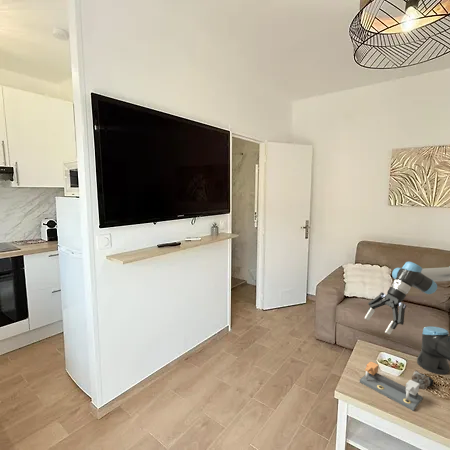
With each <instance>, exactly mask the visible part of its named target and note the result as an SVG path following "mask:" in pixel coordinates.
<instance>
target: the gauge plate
mask: <svg viewBox="0 0 450 450" xmlns="http://www.w3.org/2000/svg"><path fill="white" fill-rule="evenodd" d="M365 377H366V374H365V375H364V376H362V377H361V378H360V379H359V383H360V384H363V385H364V386H366V387H368V388H369V389H371V390H373V391H375V392H377V393H379V394H381V395H383V396H385V397H386V398H388V399H390V400H393V401H394V402H396V403H398V404H400V405H401V406H403V407H405V408H407V409H409V410H411V411H413V412H414V411H415V410H416V408H417V407H418V406H419V405H420V403H421V402H422V401H423V398H424V397H423V396H422V395H421V394H419V391H420V388H419V383H417V382H414V381H412V379H408V381H407V382H406V383H405V386H404V385H402V384H400V383H399V382H396V381H394V380H393V379H390V378H387V377H385V376H384V375H382V374H380V373H378V372H377V373H376V374H375V375H372V374H370V373H368V379H366V378H365Z"/></svg>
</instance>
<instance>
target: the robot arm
mask: <svg viewBox="0 0 450 450" xmlns="http://www.w3.org/2000/svg"><path fill="white" fill-rule="evenodd" d="M391 273H392V274H391V276H392V279H394V280H393V282H392V284H391V286H390V287H389V288H388V290H387V292H386V294H385V293H384V292H383V291H382V292H381V291H380V293H379V294H378V295H377V296H376V297H375V298H373V299H372V300H370V301H369V302H368V303H367V305H368V306H369V308H368V310H367V311H366V312H367V313H366V314H365V316H364V320H367V321H370V320H371V318H372V316H373V315H374V313H375V311H376V309H378V308H380V307H382V306H388V307H389V308H391V311H392V318H393V320H391V322H390V323H389V324H388V326H387V327H386V330H385V331H384V333H385V334H388V335H391V334H392V332H393V330H396V328H397V326H398V325H402V326H403V325H405V323H404V322H405V312H406V308H407V304H405V303H404V302H402V301H404V300H405V298H406V297H407V294H408V293H409V292H410V291H411V288H414V289H417V290H419V291H421V292H422V293H424V294H426V295H432V294H434V293H435V292H436V291H437V289H438V284H437V283H436V282H450V265H449V266H447V267H427V268H423V267H422V266H420V265H419V264H417V263H415V262H413V261H405V263H404V265H403V266H402V267H395V268H394V269H393V270H392V272H391ZM449 362H450V333H449V331H448V330H447V329H445V328H443V327H438V326H425V327H423V329H422V338H421V350H420V352H419V354H418V356H417V358H416V363H417V365H418V366H419V367H421V368H422V369H423V370H426V371H427V372H430V373H433V374H436V375H437V374H438V375H448V374H449V373H450V364H449Z"/></svg>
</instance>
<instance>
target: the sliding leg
mask: <svg viewBox="0 0 450 450" xmlns="http://www.w3.org/2000/svg"><path fill="white" fill-rule="evenodd" d="M364 371H365V375H366V377H365V378H366V379H368V373H370V374H372V375H375V374H376V373H378V372H379V364H377V363H375V362H373V361H369V362H368V363H367V364H366V367H365V369H364Z"/></svg>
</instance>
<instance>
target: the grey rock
mask: <svg viewBox="0 0 450 450" xmlns="http://www.w3.org/2000/svg"><path fill="white" fill-rule="evenodd" d="M412 373H413V374H412V376H411V380H412V381H414V382H417V383H419V389H422V390H425V389H428V387H432V386H433V385H434V379H433V378H431V376H428V375H426V374H424V373H421V372H420V371H418V370H414V371H413V372H412Z"/></svg>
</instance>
